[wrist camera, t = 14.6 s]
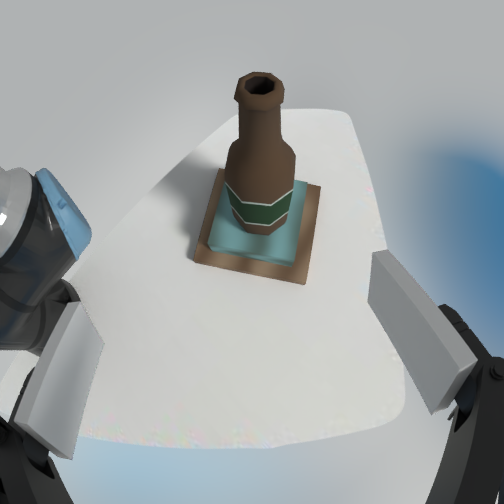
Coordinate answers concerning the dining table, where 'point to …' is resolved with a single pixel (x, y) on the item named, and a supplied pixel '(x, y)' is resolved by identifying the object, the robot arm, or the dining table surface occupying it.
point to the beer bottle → (260, 157)
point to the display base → (260, 266)
